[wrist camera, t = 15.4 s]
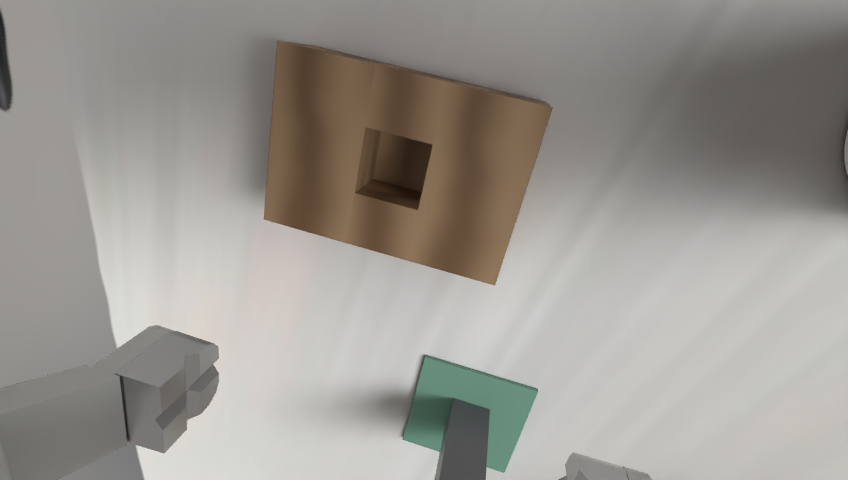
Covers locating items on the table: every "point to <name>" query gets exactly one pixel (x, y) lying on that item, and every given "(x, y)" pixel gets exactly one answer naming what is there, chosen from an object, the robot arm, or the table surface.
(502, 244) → the socket block
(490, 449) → the mat
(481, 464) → the plug
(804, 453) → the table surface
